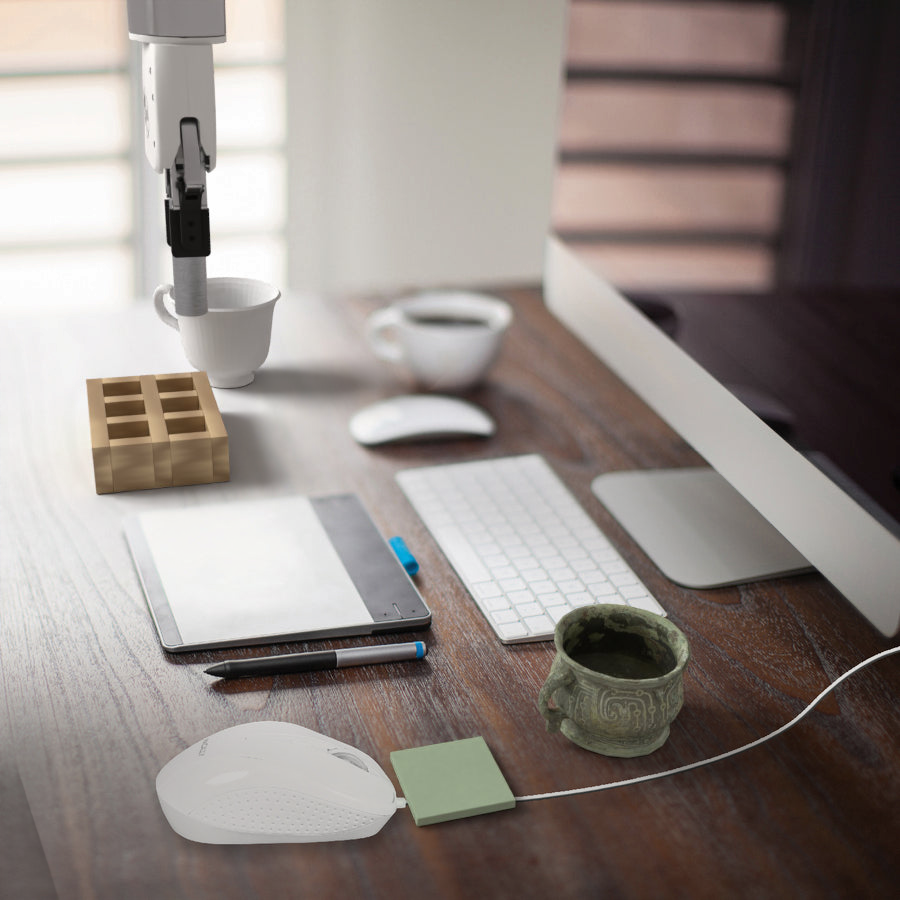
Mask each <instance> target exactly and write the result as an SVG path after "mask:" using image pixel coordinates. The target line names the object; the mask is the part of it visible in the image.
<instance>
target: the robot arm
mask: <svg viewBox="0 0 900 900" xmlns="http://www.w3.org/2000/svg"><path fill="white" fill-rule="evenodd" d="M126 11H127V27H128V39H129V40H130V41H135V42H140V43H142V48H141V49H142V51H141V53H142V54H141V59H142V60H141V66H142V67H141V69H142V70H141V73H142V75H141V76H142V77H141V78H142V98H143V100H142V101H143V119H144V122H143V123H144V151H145V155H146V158H147V160H148V163H149V164H150V166H151V168H152V169H153V170H154V172H156V173H157V174H159V175H163V174H164V184H165V185H164V187H165V197H166V198H165V199H164V200H163V202H164V220H165V236H166V237H165V238H166V239H165V240H166V243H167V245H168V247H170V252H171V256H172V255H173V256H174V257H175V258H186V257H206V258H207V257H209V256H210V255H211V254H212V245H211V243H212V242H211V221H210V208H209V207H208V189H207V174H210V173H211V172H213V171H214V170H215V169H216V167H217V110H216V109H217V108H216V85H215V67H214V65H215V63H214V48H213V45H217V44H218V45H219V44H225V43H227V15H226V14H227V13H226V0H126ZM179 182H180V184H179ZM169 184H171V194H172V208H173V209H170V207H169V189H168V186H169Z"/></svg>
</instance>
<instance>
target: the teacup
mask: <svg viewBox="0 0 900 900" xmlns="http://www.w3.org/2000/svg"><path fill="white" fill-rule="evenodd" d="M164 294H165V295H166V298H167V300H168V301H169V303H171V304H172V306H173V307H174V309H175V297H174V284H170V283H162V284H160V285H159V286H157V287H156V288H155V290H154V292H153V295H152V305H153V308H154V311H155V313H156V315H157V317H158V318H159V319H160V320H161V321H162V322H163V323H165V324H166V325H167V326H169V327H171V328H172V329H174V330H176V331H177V332H178V333H179V334H180V339H181V345H182V349H183V352H184V356H185V358H186V360H187V362H188V363H189V364H190V365H191V367H192V368H194V369H196V371H197V372H198V371H206V374H207V376H208V379H209V382H210V385H211V388H217V389H235V388H240V387H245V386H248V385H249V384H251V383H252V382H254V379H255V375H254V371H256V370H258V369H259V368H260V367H261V366H262V365H263V364H265V362H266V361H267V358H268V356H269V353H270V346H271V339H272V329H273V318H274V312H275V307H276V304H277V302H278V301H279V300H280V299H281V297H282V292H281V291H280V290H279V289H278V288H277V287H276V286H274V285H273V284H271V283H268V282H266V281H263V280H258V279H254V278H247V277H232V276H226V277H224V276H223V277H222V276H221V277H217V276H216V277H207V294H208V313H207V314H205V315H202V316H196V317H186V316H180V315H178V314H176V313H175V314H176V317H175V316H173V315H172V314H171V312H169V311H168V309H167V308H166V305H165V302H164Z"/></svg>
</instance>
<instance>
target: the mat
mask: <svg viewBox="0 0 900 900" xmlns="http://www.w3.org/2000/svg"><path fill="white" fill-rule="evenodd" d="M389 760H390V763H391V766H392V768H393V771H394V774H395V775H396V778H397V780H398V782H399V785H400V788H401V791H402V793H403V796H404V797H405V800H406V802H407V805H408V808H409V810H410V812H411V815H412V818H413V820H414V822H415V825H416V827H423V826H428V825H433V824H439V823H443V822H449V821H453V820H459V819H464V818H469V817H473V816H479V815H483V814H489V813H494V812H499V811H504V810H510V809H515V808H516V803H517V802H516V801H517V800H516V798H515V795H514V794H513V792H512V790H511V789H510V786H509V784H508V783H507V781H506V778H505V777H504V775H503V773H502V771H501V769H500V767H499V765H498V763H497V762H496V760H495V758H494V756H493V753H492V752H491V750H490V748H489V746H488V745H487V742H486V741H485V739H484V737H483V735H481V736H475V737H470V738H464V739H457V740H452V741H446V742H441V743H440V742H439V743H435V744H429V745H424V746H418V747H412V748H406V749H405V748H404V749H399V750H394V751H390V753H389Z"/></svg>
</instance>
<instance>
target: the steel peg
mask: <svg viewBox="0 0 900 900" xmlns="http://www.w3.org/2000/svg"><path fill="white" fill-rule="evenodd" d="M179 184H180V182H179ZM168 189H169V198H168V199H169V207H170V209H173V208H172V194H171V184H169V186H168ZM171 258H172V276H173V278H172V279H173V286H174V297H175V308H174V312H175V314H178V315H180V316H186V317H196V316H202V315H205V314H207V313H208V294H207V278H208V276H207V275H208V274H207V257H186V258H175V257H174V256H173V255H172V254H171Z"/></svg>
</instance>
